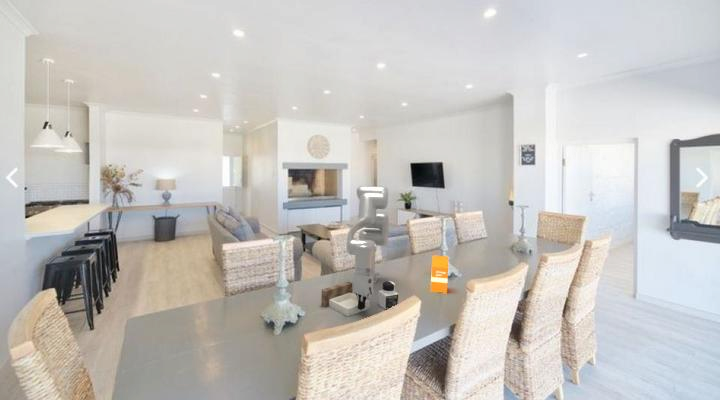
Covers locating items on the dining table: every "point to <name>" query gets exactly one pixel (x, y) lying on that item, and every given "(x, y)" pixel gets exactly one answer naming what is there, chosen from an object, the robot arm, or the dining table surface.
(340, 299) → the white square tray
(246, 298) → the dining table surface
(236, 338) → the dining table surface
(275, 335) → the dining table surface
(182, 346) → the dining table surface
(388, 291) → the medicine bottle
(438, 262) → the orange juice
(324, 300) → the backstop wall
